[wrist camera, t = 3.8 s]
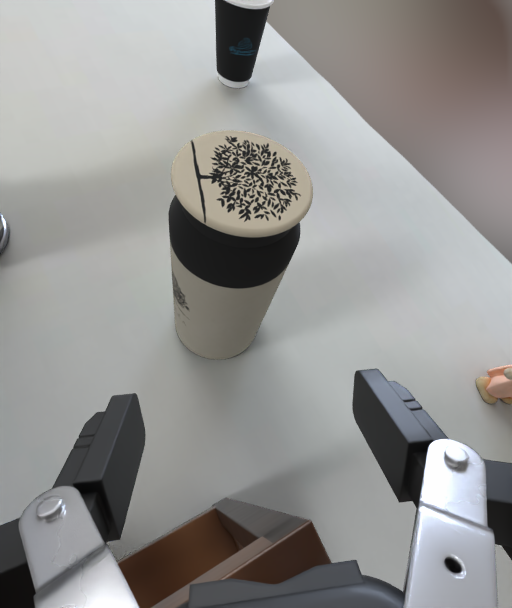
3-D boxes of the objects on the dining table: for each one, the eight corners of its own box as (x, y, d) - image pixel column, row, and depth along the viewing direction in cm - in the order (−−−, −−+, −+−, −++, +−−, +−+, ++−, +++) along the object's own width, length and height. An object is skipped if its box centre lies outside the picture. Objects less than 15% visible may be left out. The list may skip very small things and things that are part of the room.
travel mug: (254, 288, 36) (308, 135, 20) (259, 360, 32) (329, 242, 17) (177, 285, 34) (170, 116, 19) (172, 360, 31) (160, 230, 15)
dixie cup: (236, 100, 51) (248, 11, 41) (197, 74, 52) (199, -19, 42) (268, 83, 54) (285, -3, 45) (230, 58, 56) (240, -30, 46)
